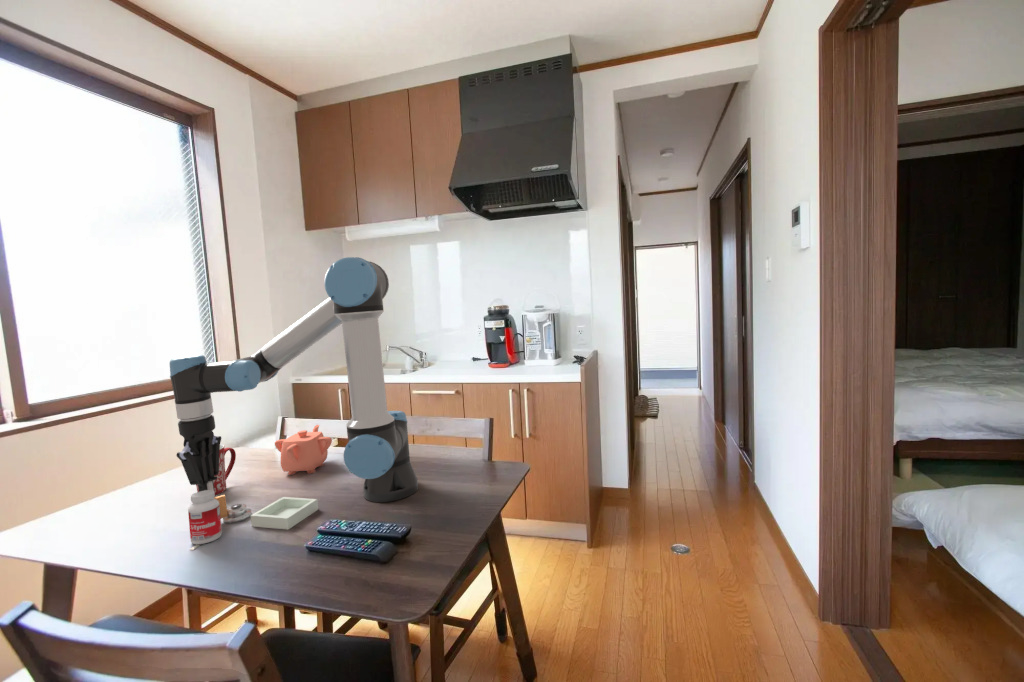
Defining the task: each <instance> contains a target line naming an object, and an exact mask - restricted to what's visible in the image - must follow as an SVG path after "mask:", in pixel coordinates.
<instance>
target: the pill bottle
mask: <svg viewBox="0 0 1024 682" xmlns="http://www.w3.org/2000/svg"><path fill="white" fill-rule="evenodd" d="M214 497H216V495H215V493H214V490H204V491H200V492H195V493H194V492H193V493H192V494H191V495H190V501H191V503H192V504H190V505H189V507H188V510H187V511H188V513H187V515H188V524H189V536H190V542H191V544H192V545H197V544H201V545H204V544H207V543H212V542H214V541H216V540H218V539H219V538H220V537H221V536H222V522H221V521H222V520H221V519H222V518H221V519H220V507H219V501H218V500H216V499H214Z"/></svg>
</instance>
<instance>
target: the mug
mask: <svg viewBox="0 0 1024 682" xmlns="http://www.w3.org/2000/svg"><path fill="white" fill-rule="evenodd" d="M227 452H230V459H229V463H228V465H227V468H226V459H225V456H226V453H227ZM236 456H237V454H236V451H235V449H234V448H232V447H226V446H225V444H221V443H220V451H219V473H218V475H215V476H214V477H217V479H216V480H213V483H214V493H215V496H216V495H220V494H221V493H223V492H225V491H226V490H227V479H228V477H229V476H230V474H231V472H232V470H233V469H234V468H233V467H234V465H235V463H236ZM213 470H214V469H213ZM195 487H196V491H197V492H199V488H198V485H195ZM197 492H196V493H197Z"/></svg>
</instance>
